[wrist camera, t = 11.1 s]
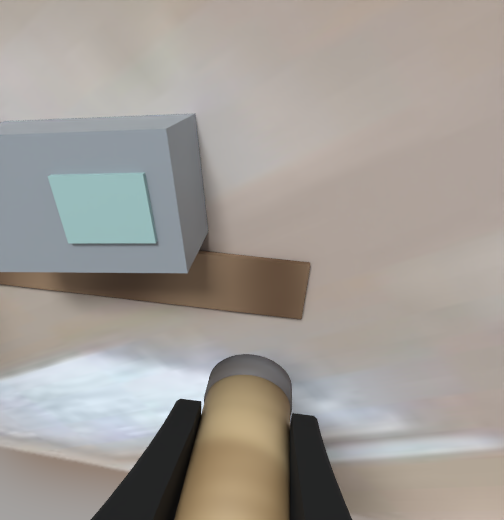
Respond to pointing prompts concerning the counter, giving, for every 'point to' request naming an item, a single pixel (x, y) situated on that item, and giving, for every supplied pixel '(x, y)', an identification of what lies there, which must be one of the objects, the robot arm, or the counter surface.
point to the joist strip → (193, 284)
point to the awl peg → (241, 445)
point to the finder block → (101, 195)
